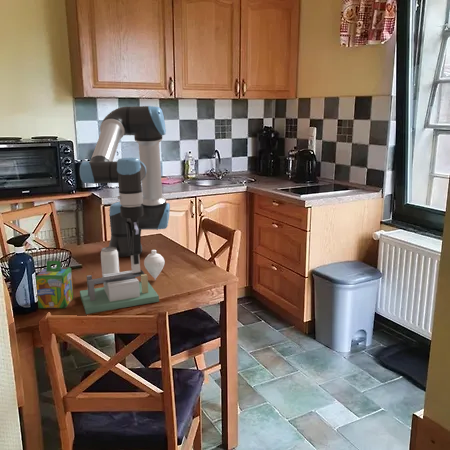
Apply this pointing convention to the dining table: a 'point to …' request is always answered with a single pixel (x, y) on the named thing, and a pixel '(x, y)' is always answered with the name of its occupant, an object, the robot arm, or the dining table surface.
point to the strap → (117, 277)
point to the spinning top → (154, 263)
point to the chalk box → (54, 286)
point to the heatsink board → (115, 304)
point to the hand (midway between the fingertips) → (136, 272)
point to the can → (109, 260)
